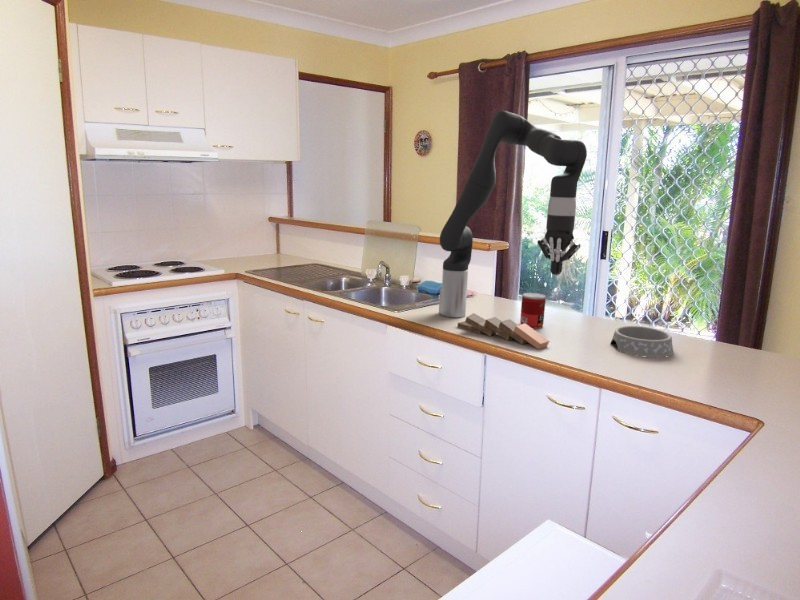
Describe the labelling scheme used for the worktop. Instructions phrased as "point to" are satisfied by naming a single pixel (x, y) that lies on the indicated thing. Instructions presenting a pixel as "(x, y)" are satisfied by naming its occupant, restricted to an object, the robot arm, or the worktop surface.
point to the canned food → (533, 309)
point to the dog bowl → (643, 341)
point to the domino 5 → (531, 336)
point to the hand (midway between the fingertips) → (555, 274)
